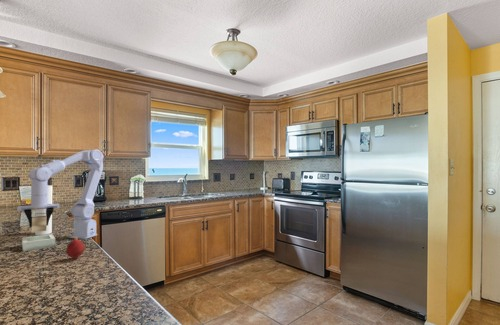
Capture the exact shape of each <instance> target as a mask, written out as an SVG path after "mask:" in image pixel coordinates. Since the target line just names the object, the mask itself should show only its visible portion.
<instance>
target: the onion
mask: <svg viewBox="0 0 500 325" xmlns="http://www.w3.org/2000/svg"><path fill="white" fill-rule="evenodd" d="M85 248H86V247H85V244H84V242H82V241H81V239H80V240H79V238H77V237H76V238H73V239H72V240H71V241H70V242H69V243H68V245H67V247H66V251H65V252H66V254H67V256H68V257H69V258H72V259H74V260H77V259H78V258H79V257H81V255H82V254H83V253H84V252H85Z"/></svg>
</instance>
